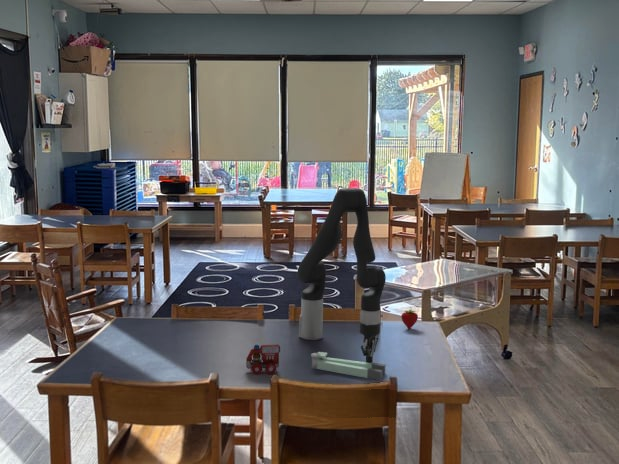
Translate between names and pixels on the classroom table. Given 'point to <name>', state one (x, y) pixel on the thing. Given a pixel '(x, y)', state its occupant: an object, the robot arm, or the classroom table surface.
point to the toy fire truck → (263, 359)
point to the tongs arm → (350, 362)
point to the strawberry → (409, 318)
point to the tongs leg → (347, 369)
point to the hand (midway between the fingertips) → (369, 365)
